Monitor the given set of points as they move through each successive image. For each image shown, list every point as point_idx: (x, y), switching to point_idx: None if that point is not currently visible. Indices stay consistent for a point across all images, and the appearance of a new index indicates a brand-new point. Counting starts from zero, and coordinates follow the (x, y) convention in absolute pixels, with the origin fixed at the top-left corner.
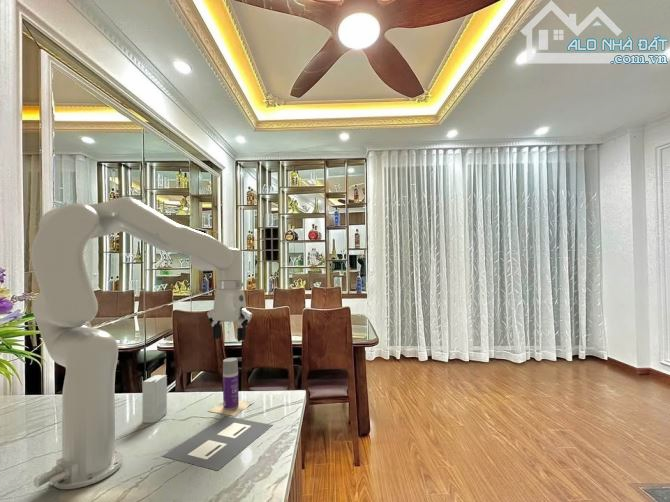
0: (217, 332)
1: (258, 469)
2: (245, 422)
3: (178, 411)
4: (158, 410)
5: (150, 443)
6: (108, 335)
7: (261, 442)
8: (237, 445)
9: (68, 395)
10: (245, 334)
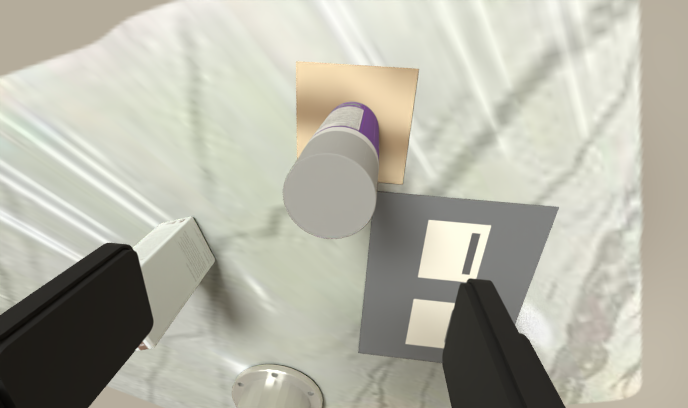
0: (101, 349)
1: (578, 356)
2: (463, 211)
3: (209, 194)
4: (199, 266)
5: (295, 325)
6: None
7: (552, 284)
8: None
9: None
10: (534, 352)
